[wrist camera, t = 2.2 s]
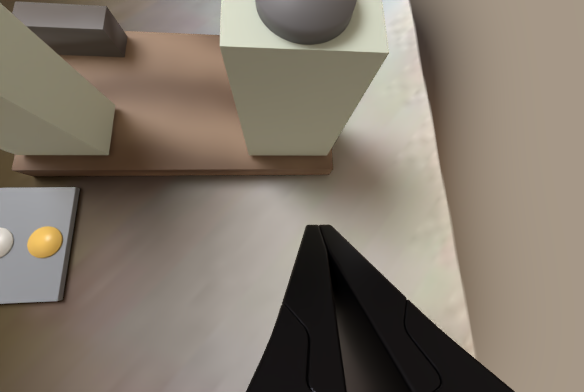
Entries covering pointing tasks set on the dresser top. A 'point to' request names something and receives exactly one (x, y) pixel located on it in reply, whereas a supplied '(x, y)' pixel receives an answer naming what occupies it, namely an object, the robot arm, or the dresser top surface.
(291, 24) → the button
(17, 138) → the button
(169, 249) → the dresser top surface
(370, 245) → the dresser top surface
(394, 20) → the dresser top surface
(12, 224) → the card
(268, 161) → the wooden base plate
